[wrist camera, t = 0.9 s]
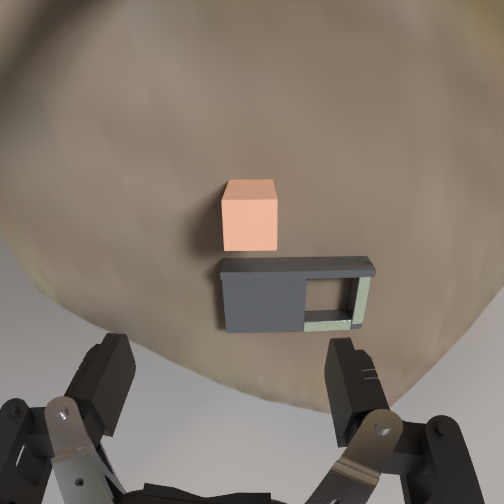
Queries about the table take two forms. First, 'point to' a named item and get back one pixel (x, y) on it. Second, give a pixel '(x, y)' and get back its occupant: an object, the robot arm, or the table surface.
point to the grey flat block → (290, 293)
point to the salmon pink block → (249, 215)
